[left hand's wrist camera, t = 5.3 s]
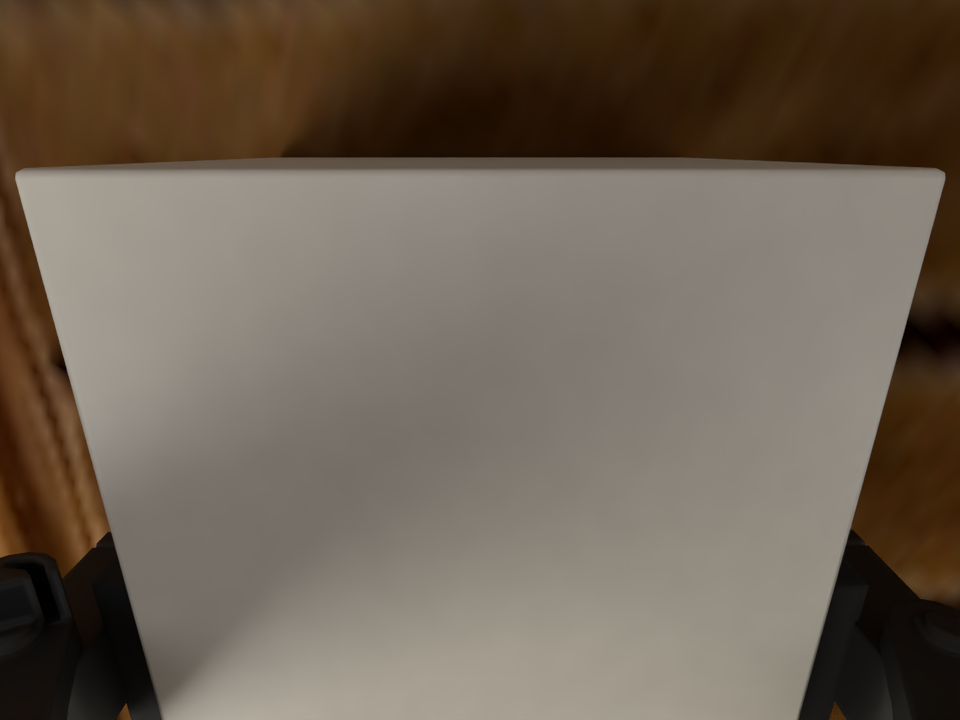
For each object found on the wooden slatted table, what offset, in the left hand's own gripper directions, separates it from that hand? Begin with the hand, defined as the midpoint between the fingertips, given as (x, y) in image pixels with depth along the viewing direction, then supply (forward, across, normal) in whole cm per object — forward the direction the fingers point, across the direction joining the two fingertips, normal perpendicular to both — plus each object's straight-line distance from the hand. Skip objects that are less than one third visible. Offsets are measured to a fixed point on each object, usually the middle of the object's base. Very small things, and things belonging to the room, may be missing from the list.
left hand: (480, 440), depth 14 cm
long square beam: (0, 0, -26) cm, 26 cm away
